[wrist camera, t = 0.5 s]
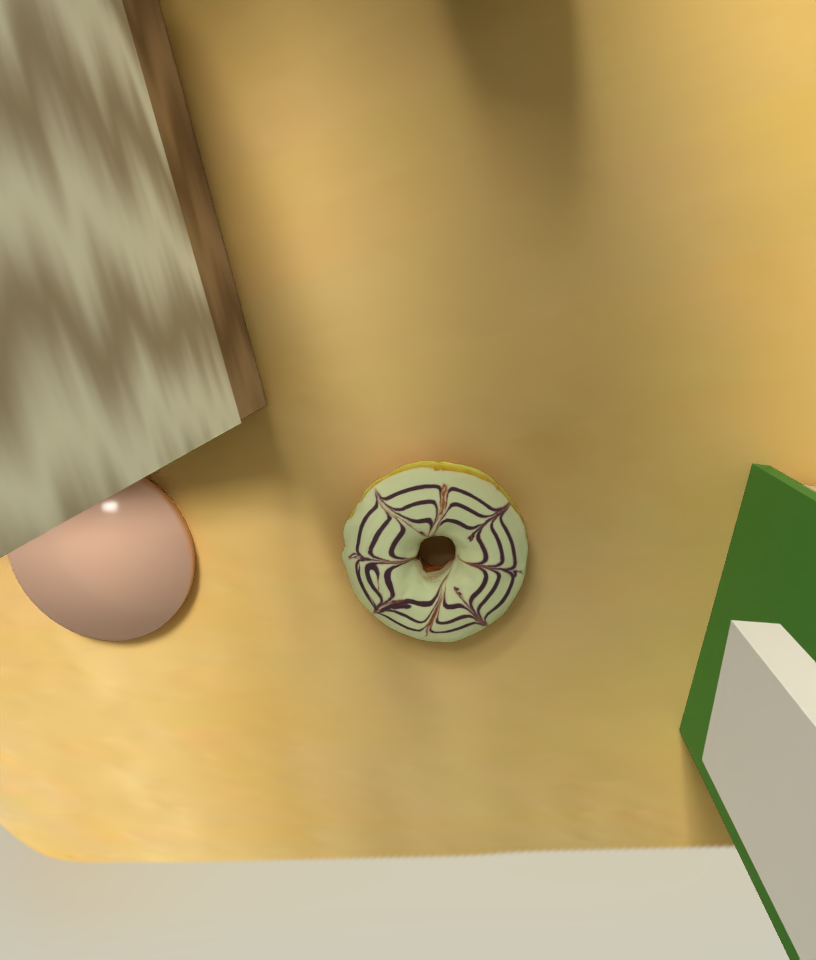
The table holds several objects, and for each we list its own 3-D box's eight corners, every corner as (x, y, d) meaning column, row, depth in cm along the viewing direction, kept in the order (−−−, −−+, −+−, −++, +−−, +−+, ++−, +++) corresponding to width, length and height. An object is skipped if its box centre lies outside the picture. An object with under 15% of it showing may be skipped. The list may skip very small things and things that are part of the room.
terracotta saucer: (-14, 478, 40) (-24, 481, 39) (161, 443, 38) (155, 446, 37) (53, 645, 43) (45, 652, 42) (218, 620, 41) (213, 626, 40)
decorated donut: (346, 608, 40) (333, 639, 37) (356, 445, 37) (343, 461, 34) (510, 629, 40) (514, 662, 36) (534, 464, 36) (541, 483, 33)
